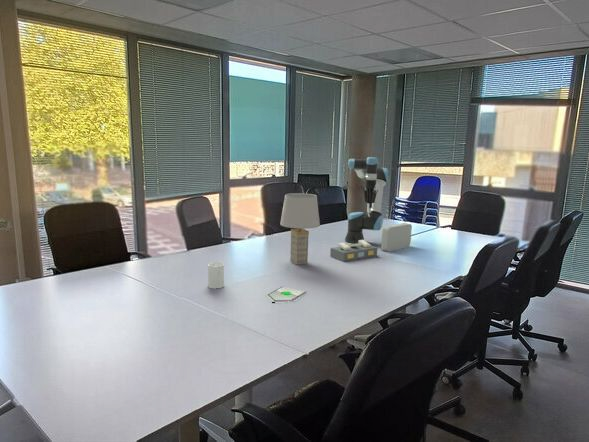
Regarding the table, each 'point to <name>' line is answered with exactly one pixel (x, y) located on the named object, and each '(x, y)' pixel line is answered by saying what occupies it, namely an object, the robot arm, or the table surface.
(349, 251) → the switch unit
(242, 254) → the table surface
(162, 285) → the table surface
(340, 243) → the rocker
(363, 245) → the rocker
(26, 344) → the table surface
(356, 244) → the rocker
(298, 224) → the lamp
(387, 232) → the rounded white slab
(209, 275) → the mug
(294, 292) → the security device
